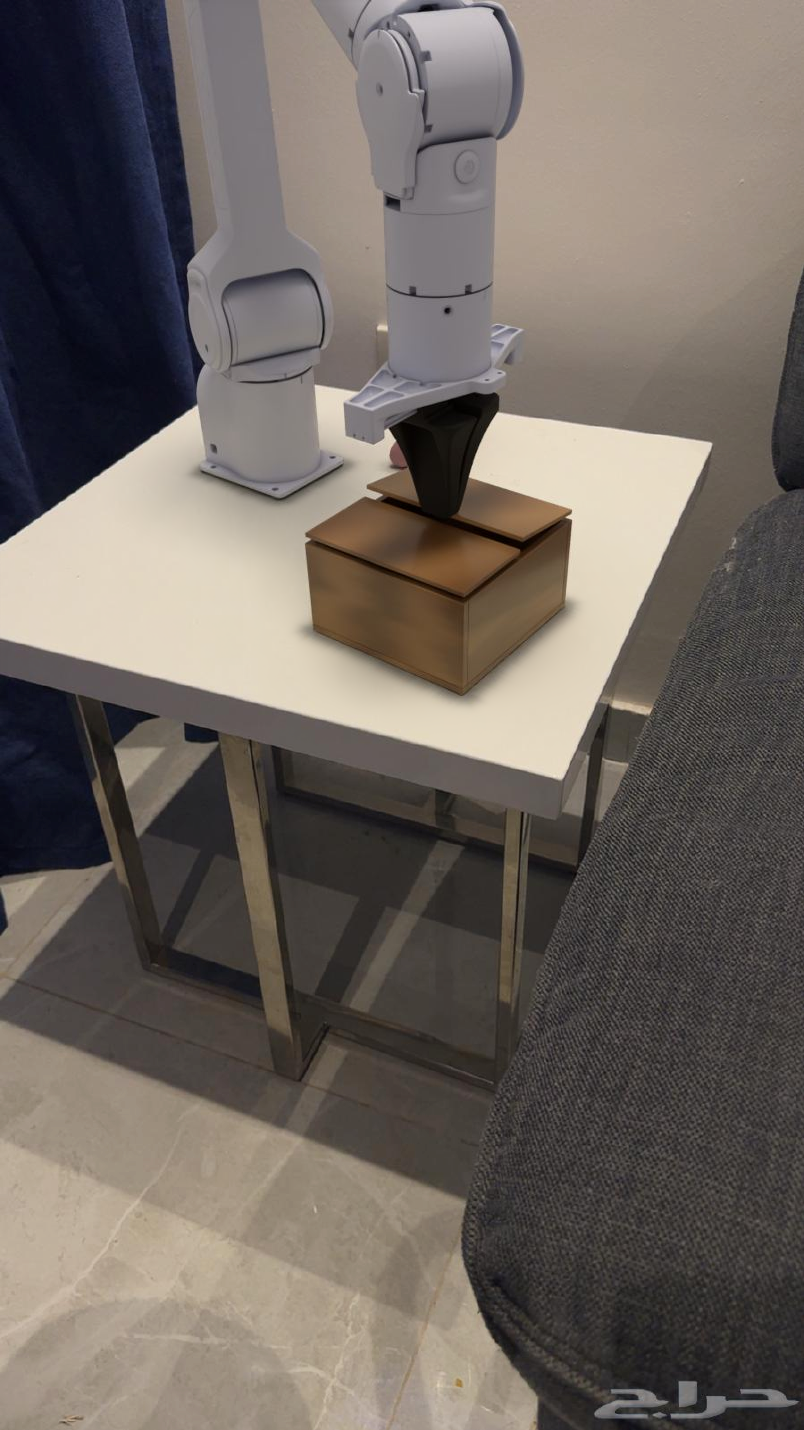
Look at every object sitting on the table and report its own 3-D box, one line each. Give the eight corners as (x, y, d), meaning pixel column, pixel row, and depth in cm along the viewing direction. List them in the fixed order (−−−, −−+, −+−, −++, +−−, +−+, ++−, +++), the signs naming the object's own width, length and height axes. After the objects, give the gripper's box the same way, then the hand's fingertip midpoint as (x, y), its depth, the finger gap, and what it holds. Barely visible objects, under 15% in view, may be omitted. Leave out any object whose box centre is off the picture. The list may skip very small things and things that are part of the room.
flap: (366, 489, 67) (366, 484, 67) (420, 466, 71) (420, 462, 70) (522, 542, 61) (523, 537, 61) (571, 514, 65) (572, 509, 65)
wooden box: (312, 629, 68) (303, 532, 63) (422, 553, 75) (420, 461, 71) (462, 695, 62) (463, 594, 57) (565, 606, 69) (573, 509, 65)
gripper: (417, 335, 49) (421, 581, 57) (574, 259, 57) (557, 483, 66) (305, 308, 52) (325, 544, 61) (469, 240, 61) (466, 455, 69)
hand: (440, 510), depth 64 cm, fingers closed
